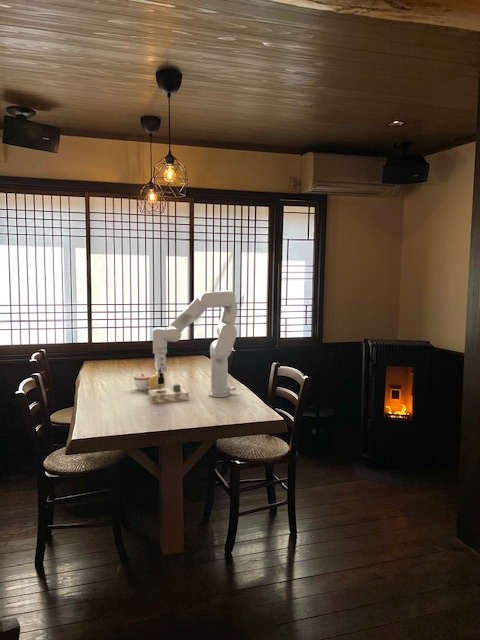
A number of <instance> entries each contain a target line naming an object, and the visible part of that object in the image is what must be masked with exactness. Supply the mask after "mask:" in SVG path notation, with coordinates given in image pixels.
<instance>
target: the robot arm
mask: <svg viewBox="0 0 480 640" xmlns="http://www.w3.org/2000/svg"><path fill="white" fill-rule="evenodd" d="M236 300H237V297H236V295H235V293H234V292H233V291H231V290H227V289H222V290H220V291H210V292H208V291H202V292H200V293H199V294H198V295H197V296H196V297H195V299H193V301H192V302H190V304H189V305H188V306H187V307H186V309H184V310H183V311H182V312H181V314H179V315H178V316H177V317H176V318H175V319H174V320H173V321H172V323H170V325H169V326H168V327H167V328H165V327H155V328H153V330H152V354H153V355H154V368H155V370H156V372H158V376H159V377H158V384H164V378H165V372H167V354H168V349H167V348H168V347H167V346H168V342H178V341H179V340H181V337H182V332H183V331H184V330H185V328H187V327H188V326H190V324H192V323H194V322H196V321H197V320H198V319H199V318H200V317H201V316H202V314H203V313H204V312H206V310H208V309H210V308H211V309H213V308H222V310H221V315H220V319H219V322H218V325H217V327H216V333H217V336H218V338H217V339H216V340H215V339H214V341H212V342H211V344H210V347H209V354H210V385H211V386H210V391H209V392H208V396H210V397H212V398H225V397H229V396H231V391H232V392H233V391H234V392H235V391H236V390H237V389H236V388H237V387H236V386H228V384H229V383H228V382H229V380H228V379H229V377H228V376H229V375H228V369H229V368H228V367H229V365H228V358H229V357H230V356H231V354H232V351H233V349H234V345H235V341H236V338H237V334H238V333H237V328H236V326H235V325H236V324H235V323H236V320H237V316H238V305H237V302H236ZM160 372H161V373H160Z"/></svg>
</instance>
